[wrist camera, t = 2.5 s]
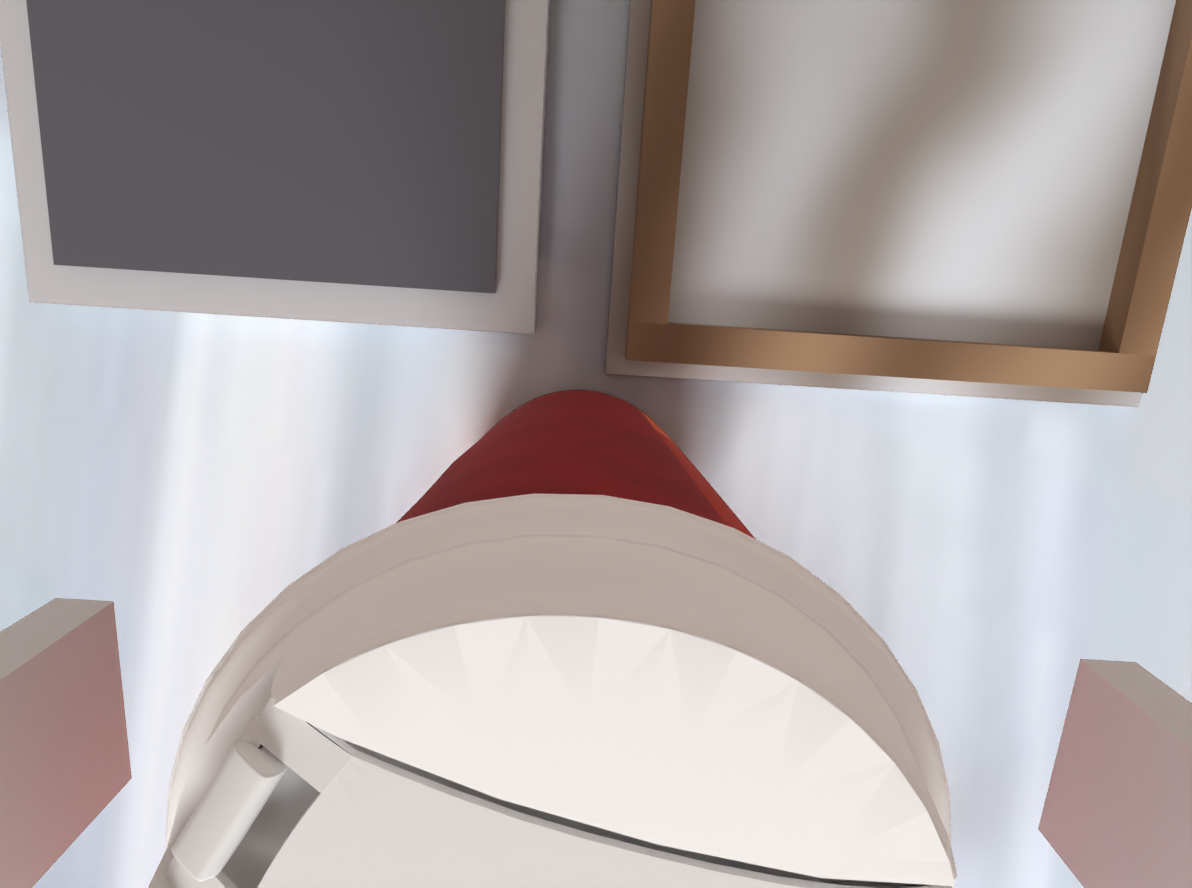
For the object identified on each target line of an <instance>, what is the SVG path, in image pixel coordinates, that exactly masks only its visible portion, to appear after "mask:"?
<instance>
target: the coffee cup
mask: <svg viewBox="0 0 1192 888" xmlns="http://www.w3.org/2000/svg"><path fill="white" fill-rule="evenodd" d="M956 876H957V875H956V868H955V863H954V859H953V854H952V850H951V838H950V797H949V790H948V785H947V780H946V776H945V771H944V766H943V762H942V757H941V752H940V748H939V743H938V740H937V738H936V735H935V733H934V730H933V728H932V726H931V723H930V721H929V719H928V716H927V714H926V711H925V709H924V707H923V704H922V702H921V700H920V697H919V695H918V692H917V690H916V689H915V687H914V686H913V684H912V683H911V681H910V680H909V678H908V677H907V675H906V673H905V672H904V670H903V669H902V667H901V666H900V664H899V663H898V661H897V660H896V658H895V657H894V655H893V654H892V652H891V651H890V649H889V648H888V646H887V644H886V643H885V642H884V640H883V639H882V638H881V637H880V636H879V635H878V634H877V633H876V632H875V631H874V630H873V629H872V627H871V626H870V625H869V624H868V623H867V622H866V621H865V620H864V619H863V618H862V617H861V616H860V615H859V614H858V613H857V612H856V611H855V609H854V608H853V607H852V606H851V605H850V604H849V603H848V602H847V601H846V600H845V599H844V598H843V597H842V596H841V595H840V594H839V593H837V592H836V591H835V590H833V589H832V588H831V587H829V586H828V585H827V584H825V583H824V582H823V581H821V580H820V579H819V578H817V577H816V576H815V575H813V574H812V573H811V572H809V571H808V570H807V569H805V568H804V567H803V566H801V565H800V564H799V563H797V562H796V561H795V560H793V559H792V558H790V557H789V556H787V555H785V554H783V553H781V552H779V551H777V550H775V549H773V548H771V547H769V546H767V545H765V544H764V543H762V542H760V541H758V540H756V539H755V538H754V537H753V535H752V534H751V533H750V532H749V531H748V529H747V528H746V527H745V526H744V525H743V523H742V522H741V521H740V520H739V519H738V517H737V516H736V515H735V514H734V513H733V511H732V510H731V509H730V508H729V507H728V505H727V504H726V503H725V502H724V501H723V499H722V498H721V497H720V496H719V495H718V493H717V492H716V491H715V490H714V489H713V487H712V486H711V485H710V484H709V483H708V482H707V480H706V479H705V478H704V477H703V476H702V474H701V473H700V472H699V471H698V470H697V469H696V467H695V466H694V465H693V464H692V463H691V462H690V460H689V459H688V458H687V457H686V456H685V455H684V453H683V452H682V451H681V450H680V449H679V448H678V447H677V445H676V444H675V443H674V442H673V441H672V440H671V439H670V437H669V436H668V435H667V434H666V433H665V432H664V431H663V430H662V429H661V428H660V427H659V426H658V425H657V424H656V423H655V422H654V421H653V420H652V419H651V418H649V417H648V416H647V415H646V414H645V413H643V412H642V411H640V410H639V409H637V408H636V407H635V406H633V405H631V404H629V403H628V402H626V401H623V400H621V399H619V398H617V397H614V396H611V395H608V394H604V393H600V392H595V391H587V390H568V391H560V392H554V393H550V394H546V395H543V396H540V397H538V398H535V399H533V400H531V401H529V402H527V403H525V404H523V405H522V406H520V407H518V408H517V409H515V410H514V411H512V412H511V413H509V414H508V415H507V416H505V417H504V418H503V419H502V420H501V421H500V422H498V423H497V424H496V425H495V426H494V427H493V428H492V429H490V430H489V431H488V432H487V433H486V434H485V435H484V436H483V437H482V438H481V439H480V440H479V441H478V442H477V443H476V444H474V445H473V446H472V447H471V448H470V449H469V450H467V451H466V452H465V453H464V454H463V455H461V456H460V457H459V458H458V459H457V460H456V461H454V462H453V463H452V464H451V465H450V467H449V468H448V469H447V470H446V471H445V472H444V473H443V474H442V476H441V477H440V478H439V479H438V480H437V481H436V482H435V483H434V484H433V486H432V487H431V488H430V489H429V490H428V491H427V492H426V493H425V494H424V496H423V497H422V498H421V499H420V500H419V501H418V502H417V503H416V504H415V505H414V506H413V507H412V508H411V509H410V510H409V511H408V512H407V513H406V514H405V515H404V516H403V517H402V518H401V519H400V520H399V521H398V522H397V523H396V524H394V525H392V526H390V527H388V528H385V529H383V530H381V531H379V532H377V533H375V534H373V535H371V536H368V537H366V538H364V539H362V540H360V541H358V542H356V543H354V544H351V545H349V546H347V547H345V548H343V549H341V550H339V551H338V552H336V553H335V554H334V555H332V556H331V557H329V558H328V559H326V560H325V561H323V562H322V563H320V564H319V565H318V566H316V567H315V568H313V569H312V570H310V571H309V572H307V573H306V574H304V575H303V576H302V577H300V578H299V579H297V580H296V581H294V582H293V583H291V584H290V585H288V586H287V587H286V588H285V589H284V590H283V591H282V592H281V593H280V594H279V595H278V596H277V597H276V598H275V599H274V600H273V601H272V602H271V603H270V604H269V605H268V606H267V607H266V608H265V609H264V610H263V611H262V612H261V613H260V614H259V615H258V616H257V617H256V618H255V619H254V620H253V621H251V622H250V623H249V624H248V625H247V626H246V627H245V628H244V629H243V630H242V631H241V633H240V634H239V636H238V637H237V638H236V640H235V641H234V643H233V644H232V645H231V647H230V648H229V649H228V651H227V652H226V654H225V655H224V656H223V658H222V659H221V661H220V662H219V663H218V665H217V666H216V668H215V669H214V670H213V672H212V673H211V675H210V676H209V677H208V679H207V680H206V683H205V685H204V687H203V689H202V691H201V693H200V695H199V698H198V700H197V702H196V704H195V706H194V708H193V710H192V713H191V715H190V717H189V719H188V721H187V723H186V726H185V728H184V730H183V733H182V737H181V741H180V745H179V748H178V752H177V756H176V760H175V764H174V768H173V772H172V776H171V780H170V784H169V798H168V815H167V833H166V850H165V854H164V856H163V858H162V860H161V862H160V864H159V866H158V868H157V870H156V872H155V874H154V876H153V878H152V881H151V883H150V885H149V888H952V887H951V886H955V884H954V879H955V878H956Z"/></svg>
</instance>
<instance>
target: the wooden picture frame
mask: <svg viewBox="0 0 1192 888" xmlns="http://www.w3.org/2000/svg"><path fill="white" fill-rule="evenodd" d="M1191 208H1192V0H630V15H629V30H628V45H627V60H626V74H625V89H624V104H623V119H622V133H621V148H620V163H619V178H618V192H617V207H616V222H615V237H614V252H613V266H612V281H611V296H610V311H609V325H608V340H607V355H606V370H605V374H618V375H634V376H650V377H666V378H682V379H698V380H714V381H730V382H746V383H762V384H778V385H794V386H810V387H826V388H842V389H858V390H874V391H890V392H906V393H922V394H938V395H954V396H970V397H986V398H1002V399H1018V400H1034V401H1050V402H1066V403H1082V404H1098V405H1114V406H1130V407H1139V404H1140V399H1141V395H1142V393H1147V391H1148V386H1149V382H1150V378H1151V374H1152V370H1153V366H1154V362H1155V357H1156V353H1157V349H1158V345H1159V341H1160V337H1161V333H1162V328H1163V324H1164V320H1165V316H1166V312H1167V308H1168V304H1169V299H1170V295H1171V291H1172V287H1173V283H1174V279H1175V274H1176V270H1177V266H1178V262H1179V258H1180V254H1181V250H1182V245H1183V241H1184V237H1185V233H1186V229H1187V225H1188V221H1189V216H1190V212H1191Z"/></svg>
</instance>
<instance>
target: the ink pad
mask: <svg viewBox="0 0 1192 888" xmlns="http://www.w3.org/2000/svg"><path fill="white" fill-rule="evenodd" d="M549 6H550V0H0V45H1V53H2V62H3V71H4V80H5V89H6V98H7V107H8V116H9V125H10V133H11V142H12V151H13V160H14V169H15V178H16V187H17V196H18V205H19V213H20V222H21V231H22V240H23V249H24V258H25V267H26V276H27V285H28V293H29V302H34V303H50V304H66V305H82V306H97V307H113V308H129V309H144V310H160V311H176V312H191V313H207V314H223V315H238V316H254V317H270V318H285V319H301V320H317V321H332V322H348V323H364V324H379V325H395V326H411V327H426V328H442V329H458V330H473V331H489V332H505V333H520V334H534V332H535V319H536V296H537V274H538V252H539V229H540V207H541V185H542V162H543V140H544V118H545V95H546V73H547V51H548V28H549Z"/></svg>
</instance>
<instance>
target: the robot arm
mask: <svg viewBox="0 0 1192 888" xmlns="http://www.w3.org/2000/svg"><path fill="white" fill-rule="evenodd" d="M130 779H131V768H130V759H129V749H128V739H127V729H126V720H125V710H124V700H123V690H122V681H121V671H120V661H119V651H118V642H117V632H116V622H115V612H114V603H113V601H97V600H80V599H63V598H55V599H53V600H52V601H50V602H49V603H47V604H45V605H44V606H42V607H40V608H39V609H37V610H36V611H34V612H32V613H31V614H29V615H27V616H26V617H24V618H23V619H21V620H19V621H18V622H16V623H14V624H13V625H11V626H9V627H8V628H6V629H5V630H3V631H1V632H0V888H32V887H33V886H34V885H35V884H36V883H37V881H38V880H39V879H40V878H41V877H42V876H43V875H44V874H45V873H46V872H47V870H48V869H49V868H50V867H51V866H52V865H53V864H54V863H55V862H56V861H57V859H58V858H59V857H60V856H61V855H62V854H63V853H64V852H65V851H66V850H67V848H68V847H69V846H70V845H71V844H72V843H73V842H74V841H75V840H76V839H77V837H78V836H79V835H80V834H81V833H82V832H83V831H84V830H85V829H86V828H87V826H88V825H89V824H90V823H91V822H92V821H93V820H94V819H95V818H96V817H97V815H98V814H99V813H100V812H101V811H102V810H103V809H104V808H105V807H106V806H107V804H108V803H109V802H110V801H111V800H112V799H113V798H114V797H115V796H116V795H117V793H118V792H119V791H120V790H121V789H122V788H123V787H124V786H125V785H126V784H127V782H128V781H129V780H130ZM1038 829H1039V831H1040V832H1041V833H1042V834H1043V836H1044V837H1045V838H1046V840H1047V841H1048V842H1049V843H1050V845H1051V846H1052V847H1053V848H1054V850H1055V851H1056V852H1057V854H1058V855H1059V856H1060V857H1061V859H1062V860H1063V861H1064V863H1065V864H1066V865H1067V866H1068V868H1069V869H1070V870H1071V871H1072V873H1073V874H1074V875H1075V877H1076V878H1077V879H1078V880H1079V882H1080V883H1081V884H1082V885H1083V887H1084V888H1192V703H1191V702H1189V701H1188V700H1186V699H1185V698H1184V697H1182V696H1181V695H1180V694H1178V693H1177V692H1176V691H1174V690H1173V689H1171V688H1170V687H1169V686H1167V685H1166V684H1165V683H1163V682H1162V681H1161V680H1159V679H1158V678H1157V677H1155V676H1154V675H1152V674H1151V673H1150V672H1148V671H1147V670H1146V669H1144V668H1143V667H1142V666H1140V665H1139V664H1138V663H1136V662H1123V661H1106V660H1089V659H1080V663H1079V667H1078V671H1077V675H1076V679H1075V683H1074V687H1073V691H1072V695H1071V699H1070V703H1069V707H1068V711H1067V715H1066V719H1065V723H1064V727H1063V731H1062V735H1061V739H1060V743H1059V748H1058V752H1057V756H1056V760H1055V764H1054V768H1053V772H1052V776H1051V780H1050V784H1049V788H1048V792H1047V796H1046V800H1045V804H1044V808H1043V812H1042V816H1041V820H1040V824H1039V828H1038Z"/></svg>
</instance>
